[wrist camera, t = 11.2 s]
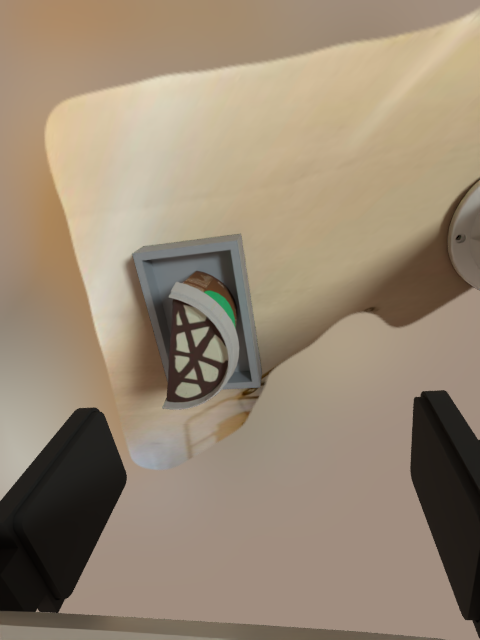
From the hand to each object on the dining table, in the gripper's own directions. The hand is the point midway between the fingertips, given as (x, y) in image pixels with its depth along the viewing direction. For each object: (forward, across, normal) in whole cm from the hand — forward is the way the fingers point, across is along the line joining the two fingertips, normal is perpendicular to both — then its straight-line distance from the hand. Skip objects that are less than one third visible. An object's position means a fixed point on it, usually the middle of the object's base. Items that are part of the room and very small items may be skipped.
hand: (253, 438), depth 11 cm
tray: (+28, +9, +8) cm, 31 cm away
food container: (+28, +7, +8) cm, 30 cm away
